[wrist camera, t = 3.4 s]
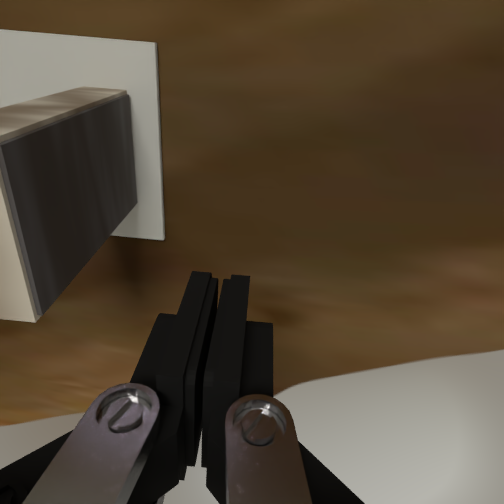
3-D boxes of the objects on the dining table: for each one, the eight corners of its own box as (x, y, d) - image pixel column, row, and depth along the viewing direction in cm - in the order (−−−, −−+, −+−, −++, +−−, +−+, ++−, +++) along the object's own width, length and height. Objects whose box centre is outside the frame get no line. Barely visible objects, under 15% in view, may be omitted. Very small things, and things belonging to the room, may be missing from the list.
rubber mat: (156, 42, 21) (155, 42, 21) (164, 237, 27) (163, 240, 27) (-166, 14, 21) (-173, 14, 21) (-88, 213, 27) (-93, 215, 27)
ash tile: (130, 90, 22) (-5, 140, 12) (138, 204, 25) (40, 322, 15) (83, 86, 22) (-95, 132, 12) (98, 200, 25) (-28, 316, 15)
